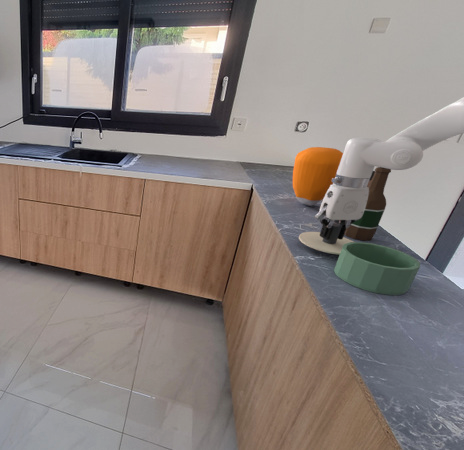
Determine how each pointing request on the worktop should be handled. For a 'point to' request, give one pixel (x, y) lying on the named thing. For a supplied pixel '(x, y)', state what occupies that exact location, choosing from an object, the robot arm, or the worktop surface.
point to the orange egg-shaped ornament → (314, 173)
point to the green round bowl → (376, 268)
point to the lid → (322, 244)
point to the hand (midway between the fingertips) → (330, 237)
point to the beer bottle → (371, 208)
